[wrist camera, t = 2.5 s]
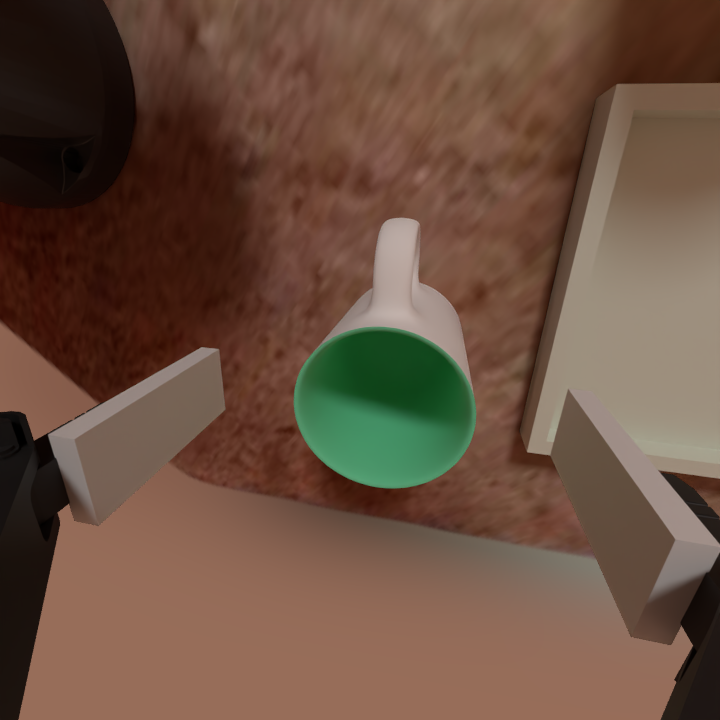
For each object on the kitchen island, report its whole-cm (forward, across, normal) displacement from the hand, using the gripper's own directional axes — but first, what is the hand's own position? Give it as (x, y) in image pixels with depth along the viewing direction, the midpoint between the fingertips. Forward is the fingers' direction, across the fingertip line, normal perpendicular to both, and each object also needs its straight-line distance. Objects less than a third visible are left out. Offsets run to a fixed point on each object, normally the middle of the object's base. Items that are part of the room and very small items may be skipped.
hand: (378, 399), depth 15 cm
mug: (+12, 0, 0) cm, 12 cm away
